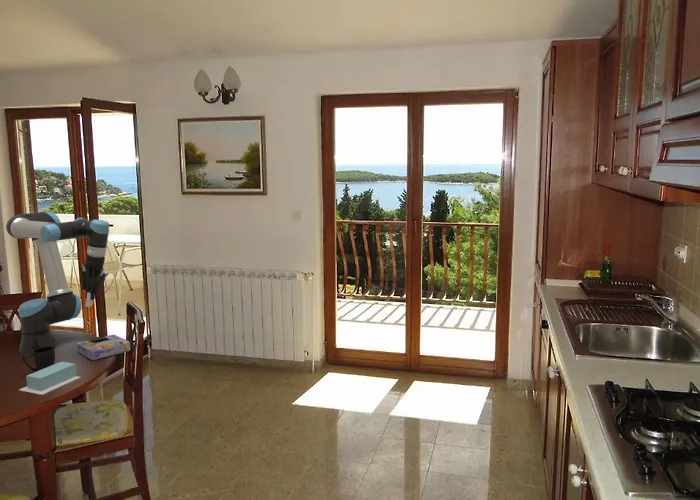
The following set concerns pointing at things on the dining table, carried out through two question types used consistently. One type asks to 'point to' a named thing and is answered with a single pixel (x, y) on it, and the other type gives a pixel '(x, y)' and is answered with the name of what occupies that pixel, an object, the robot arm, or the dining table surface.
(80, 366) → the dining table surface
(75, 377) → the white mat
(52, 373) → the teal block
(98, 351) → the cake pan box
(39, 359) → the mug
